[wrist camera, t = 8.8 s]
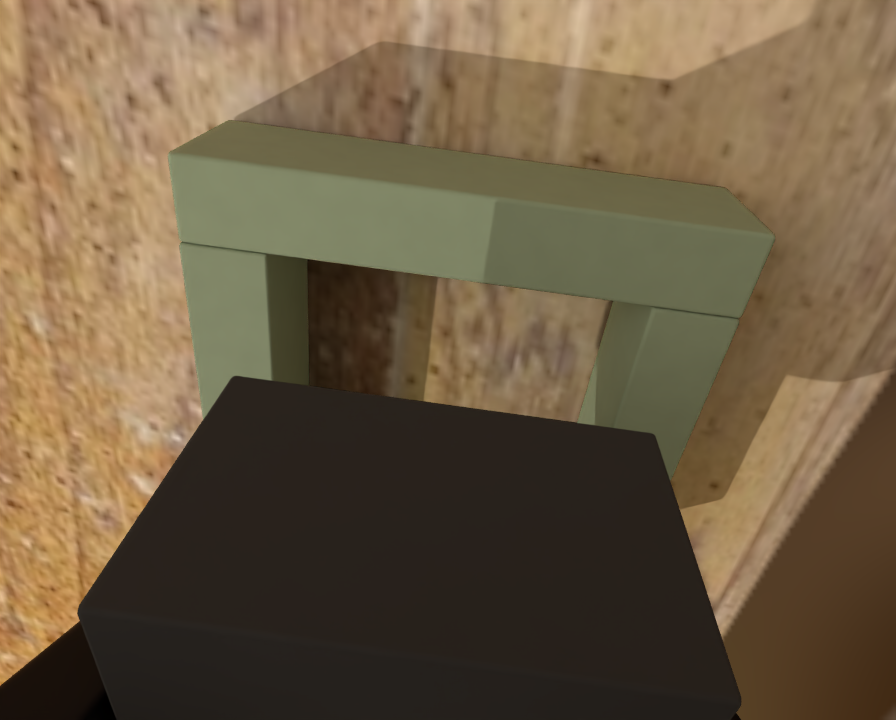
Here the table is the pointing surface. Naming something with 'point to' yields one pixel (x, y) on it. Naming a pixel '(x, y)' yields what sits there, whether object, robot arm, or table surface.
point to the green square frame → (463, 256)
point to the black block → (406, 571)
